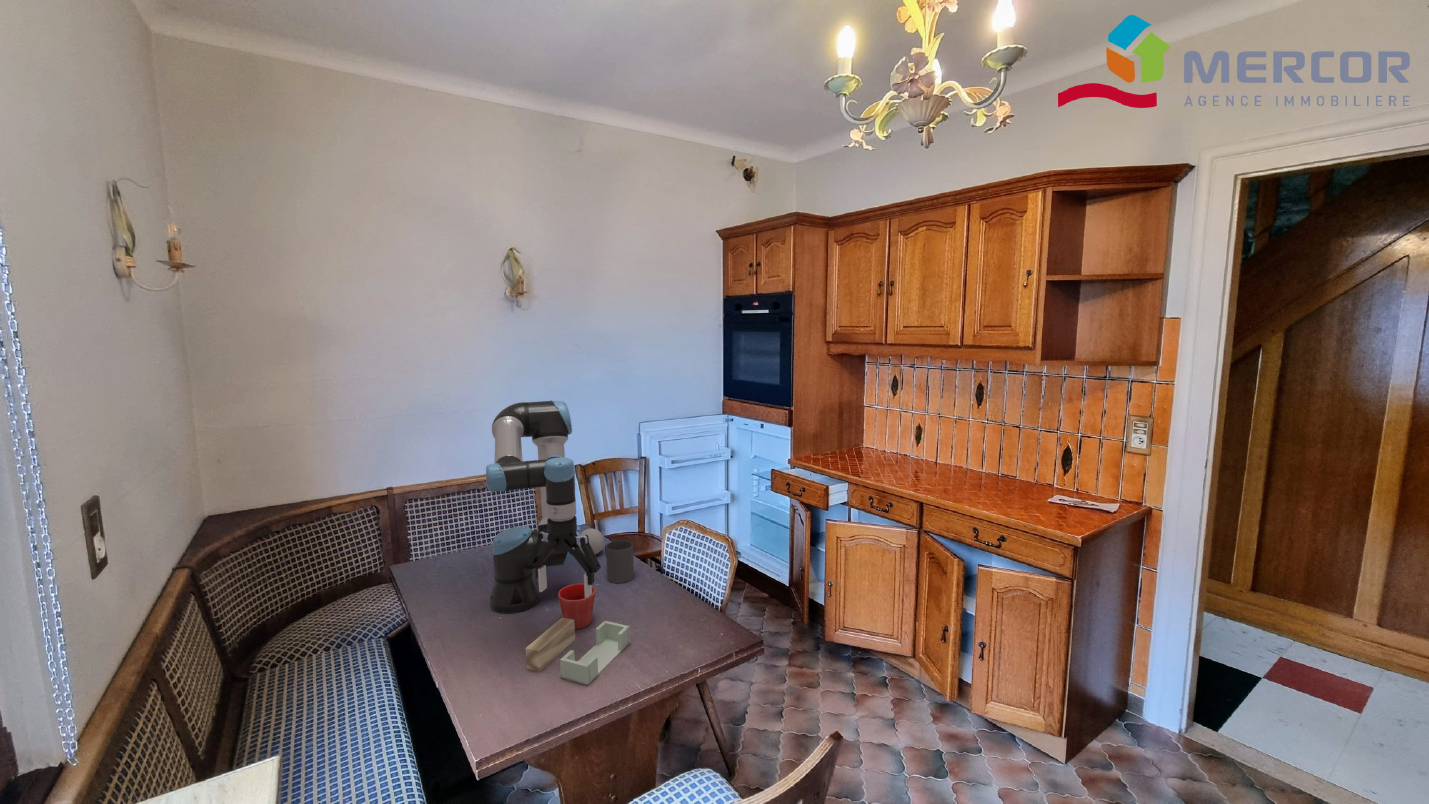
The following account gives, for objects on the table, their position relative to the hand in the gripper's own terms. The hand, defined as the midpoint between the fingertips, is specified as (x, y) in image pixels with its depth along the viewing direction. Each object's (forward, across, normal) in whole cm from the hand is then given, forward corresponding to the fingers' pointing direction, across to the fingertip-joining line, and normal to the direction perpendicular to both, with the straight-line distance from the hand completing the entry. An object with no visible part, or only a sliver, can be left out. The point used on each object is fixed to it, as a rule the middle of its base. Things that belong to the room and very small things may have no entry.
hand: (565, 592), depth 155 cm
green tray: (+16, +10, -3) cm, 19 cm away
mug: (+16, -6, +44) cm, 47 cm away
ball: (+16, -23, +59) cm, 65 cm away
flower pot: (+16, -4, +13) cm, 21 cm away
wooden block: (+16, -3, -3) cm, 17 cm away
